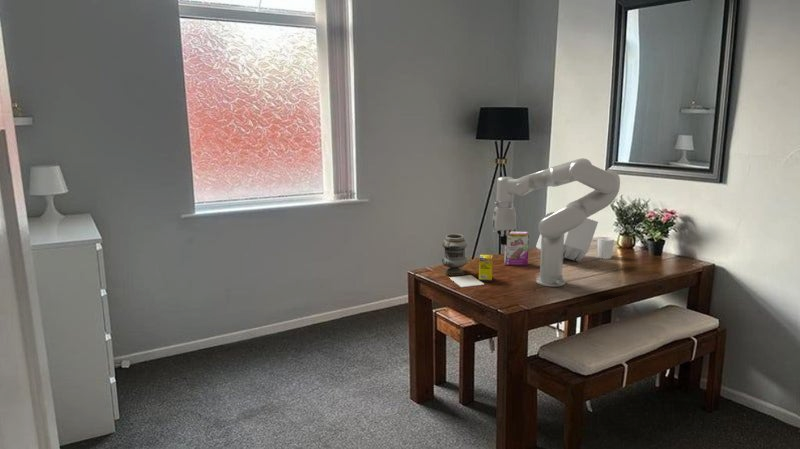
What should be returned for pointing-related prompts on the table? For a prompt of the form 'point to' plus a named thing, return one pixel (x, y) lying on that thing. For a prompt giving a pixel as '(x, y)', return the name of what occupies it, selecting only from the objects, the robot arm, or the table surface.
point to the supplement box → (485, 267)
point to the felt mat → (466, 281)
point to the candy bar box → (517, 248)
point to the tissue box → (577, 240)
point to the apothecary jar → (454, 254)
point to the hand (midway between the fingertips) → (502, 244)
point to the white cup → (605, 247)
